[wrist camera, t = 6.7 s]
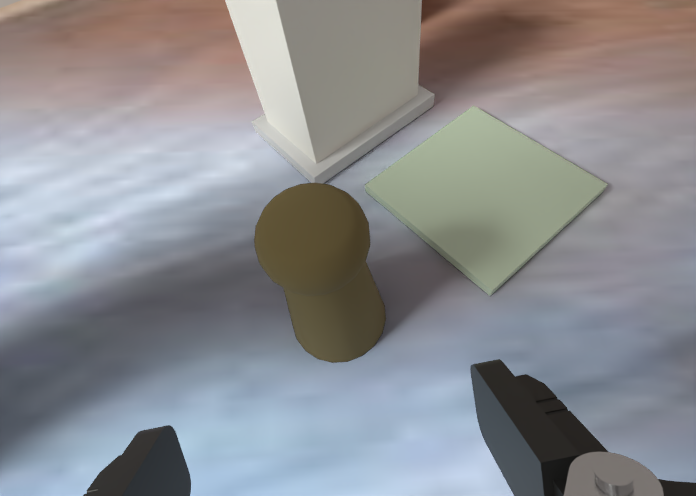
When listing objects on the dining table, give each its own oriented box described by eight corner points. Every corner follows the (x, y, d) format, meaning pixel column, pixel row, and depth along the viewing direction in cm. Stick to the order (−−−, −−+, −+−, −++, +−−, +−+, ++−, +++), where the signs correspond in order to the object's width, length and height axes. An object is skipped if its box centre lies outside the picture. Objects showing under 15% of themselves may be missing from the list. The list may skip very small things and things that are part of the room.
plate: (490, 296, 26) (492, 290, 25) (365, 191, 31) (364, 184, 31) (603, 191, 29) (607, 184, 28) (472, 113, 35) (473, 105, 34)
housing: (316, 187, 32) (261, -20, 19) (255, 132, 36) (176, -70, 24) (433, 105, 36) (452, -117, 23) (365, 63, 40) (349, -145, 27)
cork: (318, 263, 29) (279, 148, 19) (399, 292, 27) (399, 181, 17) (275, 340, 26) (206, 251, 17) (362, 378, 24) (339, 302, 15)
